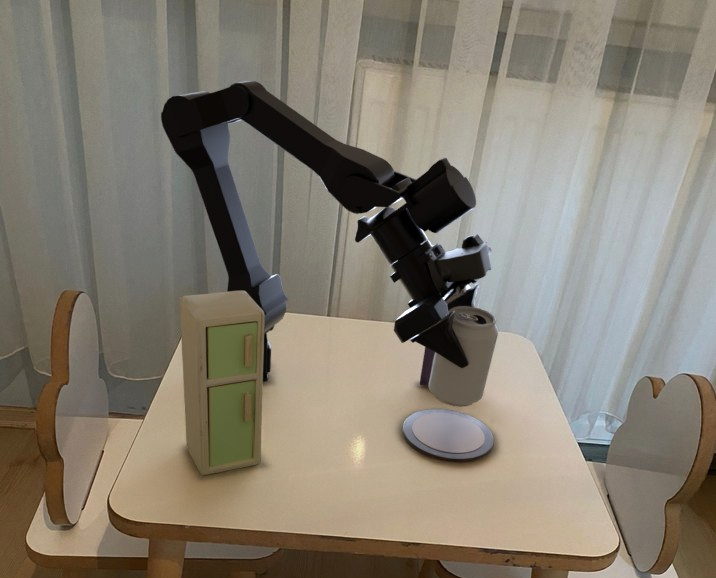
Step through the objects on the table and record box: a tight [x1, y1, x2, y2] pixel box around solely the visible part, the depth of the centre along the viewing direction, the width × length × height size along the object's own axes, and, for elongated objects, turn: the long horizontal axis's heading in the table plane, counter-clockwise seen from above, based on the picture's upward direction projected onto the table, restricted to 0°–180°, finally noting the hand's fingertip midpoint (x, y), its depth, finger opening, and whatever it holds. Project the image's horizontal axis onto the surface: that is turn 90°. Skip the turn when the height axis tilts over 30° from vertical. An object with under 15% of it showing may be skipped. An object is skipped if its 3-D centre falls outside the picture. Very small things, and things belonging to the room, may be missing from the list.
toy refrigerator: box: [179, 291, 264, 476], centre depth 85 cm, size 8×7×21 cm
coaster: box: [401, 408, 494, 463], centre depth 101 cm, size 13×13×1 cm
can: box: [427, 306, 499, 408], centre depth 94 cm, size 8×8×12 cm
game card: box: [419, 347, 435, 387], centre depth 113 cm, size 7×5×9 cm
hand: (473, 355), depth 93 cm, fingers closed on can, 7 cm apart
